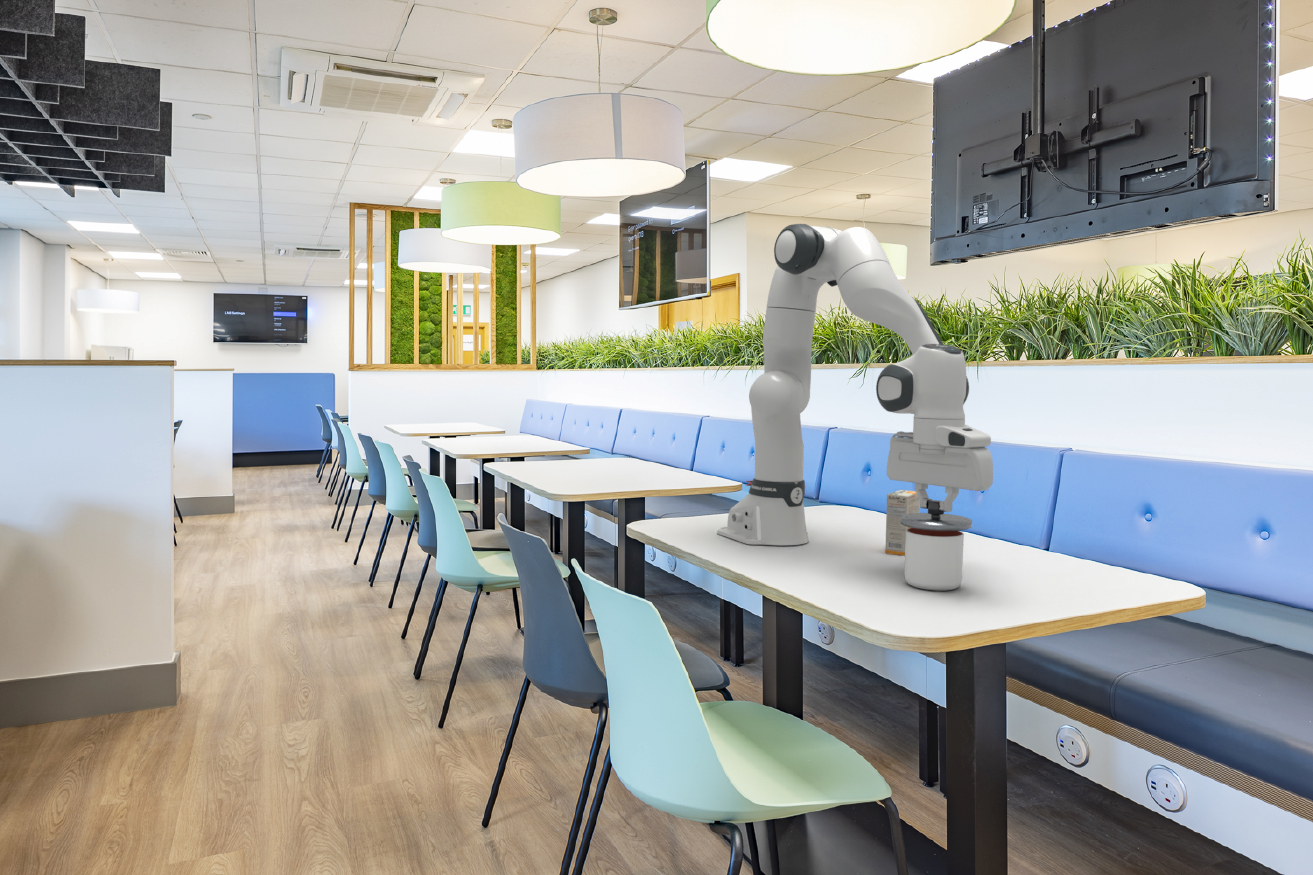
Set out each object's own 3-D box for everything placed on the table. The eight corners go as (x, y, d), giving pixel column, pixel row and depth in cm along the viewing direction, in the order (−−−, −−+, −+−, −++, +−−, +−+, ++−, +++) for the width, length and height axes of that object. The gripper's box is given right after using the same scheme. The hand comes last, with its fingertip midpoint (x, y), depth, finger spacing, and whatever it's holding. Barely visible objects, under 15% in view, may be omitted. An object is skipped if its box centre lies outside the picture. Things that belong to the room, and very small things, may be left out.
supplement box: (897, 547, 188) (899, 489, 187) (918, 550, 185) (920, 491, 184) (883, 553, 181) (885, 493, 180) (905, 556, 178) (907, 495, 177)
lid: (887, 524, 153) (887, 501, 153) (921, 515, 162) (921, 494, 161) (951, 533, 144) (952, 509, 144) (983, 524, 153) (984, 501, 152)
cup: (965, 594, 148) (967, 538, 147) (906, 590, 150) (908, 535, 149) (957, 580, 157) (959, 528, 157) (902, 577, 159) (903, 525, 159)
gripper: (880, 431, 158) (878, 503, 159) (978, 438, 142) (975, 519, 143) (901, 430, 162) (899, 501, 163) (999, 437, 145) (996, 516, 146)
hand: (935, 509), depth 153 cm, fingers closed on lid, 3 cm apart
